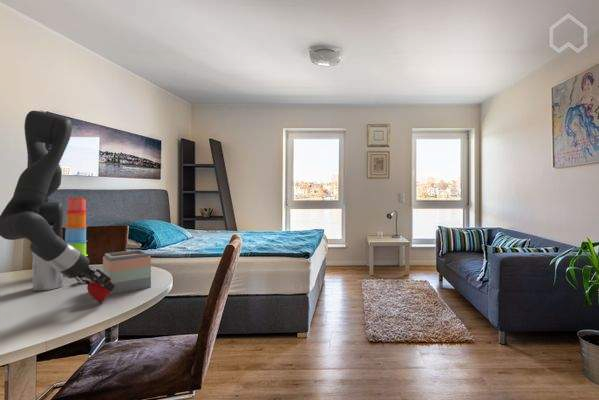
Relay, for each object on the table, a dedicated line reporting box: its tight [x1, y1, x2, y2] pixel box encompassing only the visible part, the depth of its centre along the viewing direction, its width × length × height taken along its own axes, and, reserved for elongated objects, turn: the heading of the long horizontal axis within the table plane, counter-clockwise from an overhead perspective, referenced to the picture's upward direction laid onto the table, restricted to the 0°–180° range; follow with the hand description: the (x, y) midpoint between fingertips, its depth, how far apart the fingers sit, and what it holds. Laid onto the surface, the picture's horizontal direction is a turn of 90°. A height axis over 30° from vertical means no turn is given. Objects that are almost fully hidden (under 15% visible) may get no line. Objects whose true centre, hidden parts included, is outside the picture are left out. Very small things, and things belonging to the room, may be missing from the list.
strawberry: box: [86, 279, 113, 303], centre depth 105 cm, size 6×8×10 cm
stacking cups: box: [64, 197, 89, 257], centre depth 147 cm, size 10×10×35 cm
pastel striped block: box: [102, 249, 152, 295], centre depth 122 cm, size 14×12×13 cm
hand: (104, 287), depth 107 cm, fingers open, 8 cm apart
